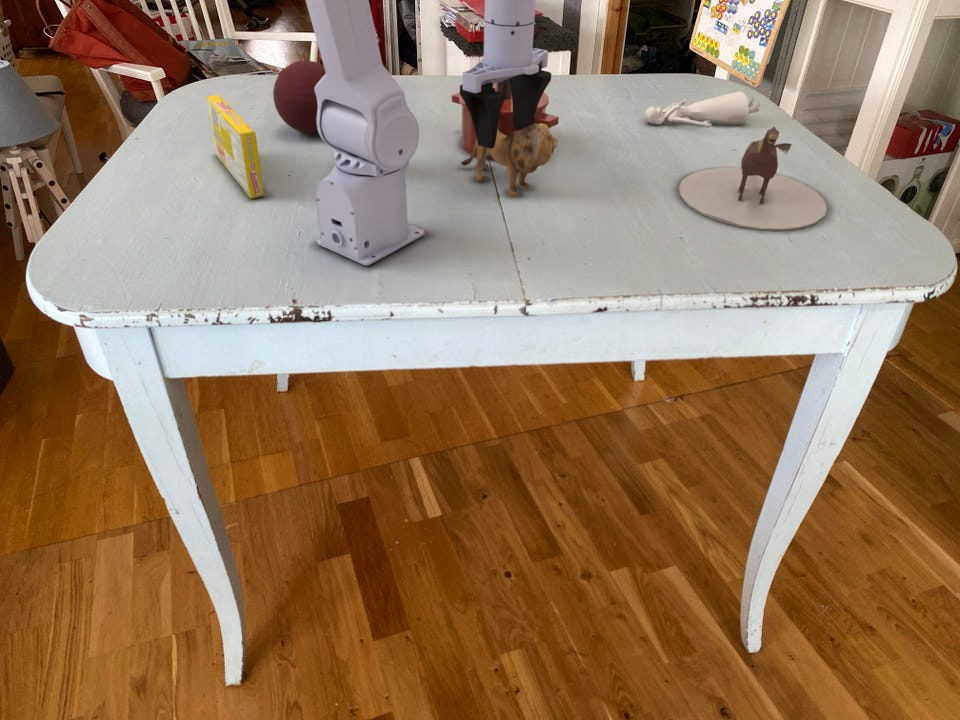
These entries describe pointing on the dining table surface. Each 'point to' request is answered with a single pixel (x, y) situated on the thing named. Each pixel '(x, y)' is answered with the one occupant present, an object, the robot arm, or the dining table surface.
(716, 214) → the brown figure on disc
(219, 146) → the candy box
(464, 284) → the dining table surface
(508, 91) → the pot lid
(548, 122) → the pot
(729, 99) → the woman figurine
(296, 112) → the decorative ball
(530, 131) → the lion figurine
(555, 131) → the dining table surface
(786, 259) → the dining table surface
